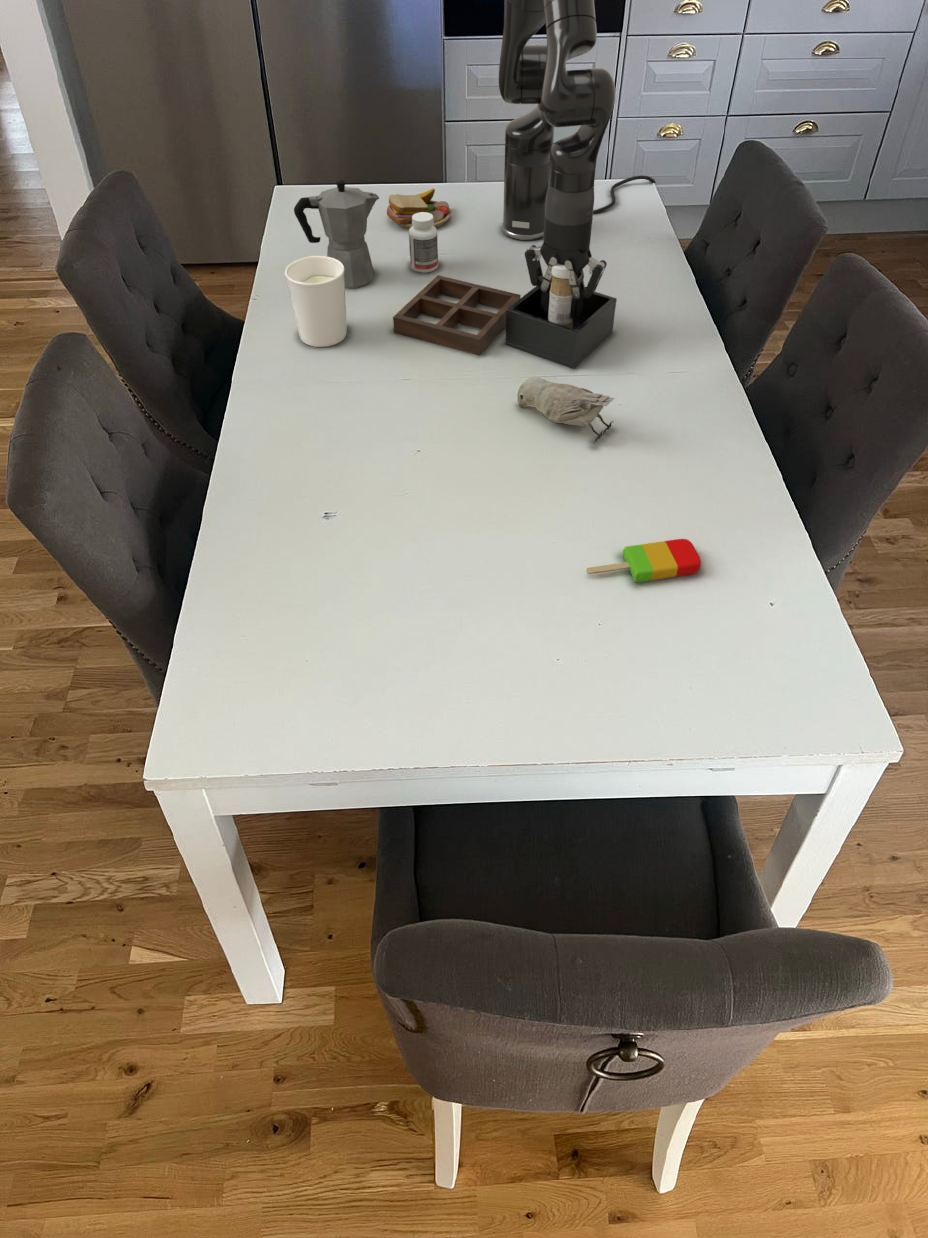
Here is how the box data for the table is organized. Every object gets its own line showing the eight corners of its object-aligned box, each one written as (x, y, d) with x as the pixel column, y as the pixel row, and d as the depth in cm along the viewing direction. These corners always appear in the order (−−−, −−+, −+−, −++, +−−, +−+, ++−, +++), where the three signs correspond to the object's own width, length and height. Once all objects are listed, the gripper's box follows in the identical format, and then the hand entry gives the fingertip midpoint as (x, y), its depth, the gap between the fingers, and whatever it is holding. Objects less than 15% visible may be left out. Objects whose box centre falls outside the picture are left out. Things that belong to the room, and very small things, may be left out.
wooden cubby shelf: (438, 289, 172) (437, 274, 170) (520, 310, 167) (520, 294, 164) (393, 332, 162) (392, 316, 160) (479, 355, 157) (479, 339, 154)
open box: (546, 311, 166) (548, 276, 162) (612, 333, 161) (616, 298, 156) (505, 344, 159) (506, 309, 154) (573, 368, 154) (576, 333, 149)
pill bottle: (444, 266, 178) (442, 216, 171) (423, 276, 175) (421, 225, 168) (425, 257, 181) (423, 207, 173) (404, 266, 178) (401, 216, 171)
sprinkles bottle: (573, 329, 161) (580, 255, 151) (570, 343, 158) (577, 268, 148) (547, 327, 161) (552, 253, 151) (544, 341, 158) (549, 266, 148)
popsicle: (702, 574, 121) (705, 563, 119) (592, 591, 119) (593, 580, 117) (687, 546, 124) (689, 535, 123) (580, 562, 122) (581, 551, 121)
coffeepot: (380, 261, 179) (373, 165, 166) (388, 284, 173) (381, 187, 160) (301, 270, 177) (287, 174, 164) (306, 294, 171) (292, 196, 158)
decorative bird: (528, 397, 148) (530, 357, 142) (616, 432, 142) (622, 391, 136) (509, 414, 145) (511, 373, 140) (598, 450, 139) (604, 408, 133)
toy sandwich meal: (456, 228, 189) (456, 205, 185) (391, 235, 187) (390, 211, 184) (445, 202, 197) (444, 180, 194) (382, 208, 195) (381, 186, 192)
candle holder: (284, 343, 160) (273, 277, 151) (311, 315, 166) (302, 251, 157) (335, 354, 157) (327, 288, 148) (360, 326, 163) (354, 261, 154)
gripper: (620, 211, 144) (608, 312, 157) (536, 194, 148) (531, 294, 161) (603, 231, 139) (592, 333, 152) (517, 213, 144) (513, 313, 156)
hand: (561, 312), depth 156 cm, fingers closed on sprinkles bottle, 4 cm apart
